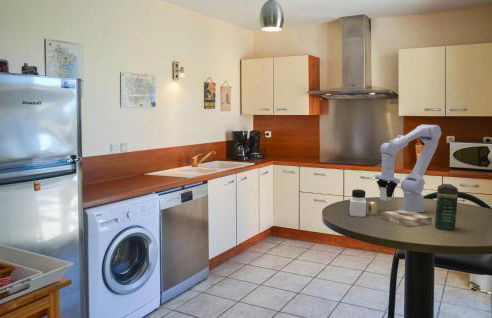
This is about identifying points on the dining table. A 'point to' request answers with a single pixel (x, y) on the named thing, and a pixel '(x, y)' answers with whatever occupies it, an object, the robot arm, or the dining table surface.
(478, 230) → the dining table surface
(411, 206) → the robot arm
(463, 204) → the dining table surface
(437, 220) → the coffee jar
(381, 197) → the steel square peg
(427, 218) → the bore block
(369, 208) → the brass round peg
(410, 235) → the dining table surface
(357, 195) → the medicine bottle
